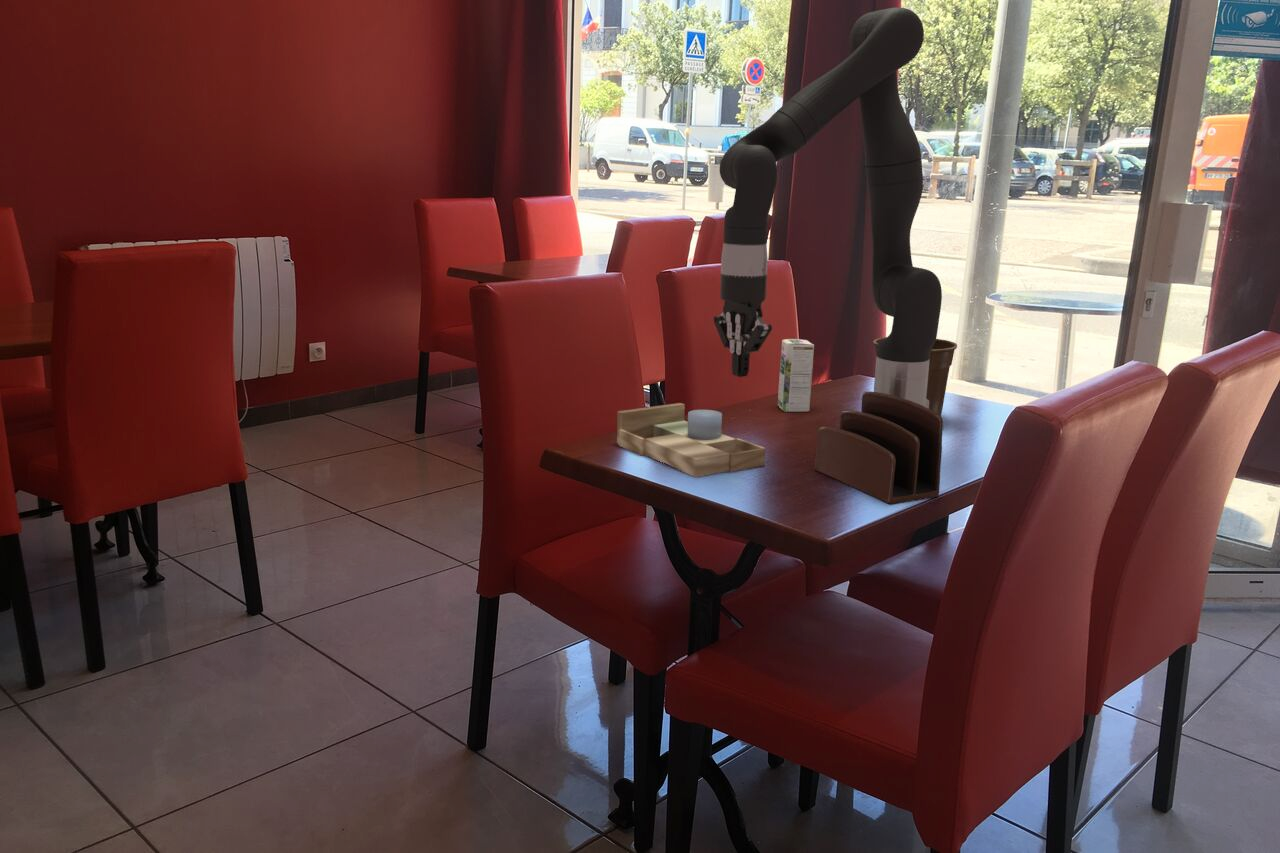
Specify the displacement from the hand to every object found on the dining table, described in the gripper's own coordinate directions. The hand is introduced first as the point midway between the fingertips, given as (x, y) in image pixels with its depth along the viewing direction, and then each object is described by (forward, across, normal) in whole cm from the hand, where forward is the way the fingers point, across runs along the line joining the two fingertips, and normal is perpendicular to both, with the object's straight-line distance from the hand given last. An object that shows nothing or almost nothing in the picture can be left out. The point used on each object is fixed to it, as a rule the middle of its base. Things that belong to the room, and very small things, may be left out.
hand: (739, 375), depth 173 cm
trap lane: (+16, +10, +3) cm, 19 cm away
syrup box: (+16, +27, -37) cm, 48 cm away
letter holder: (+16, -19, -14) cm, 28 cm away
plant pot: (+16, +8, -51) cm, 54 cm away
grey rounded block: (+13, +10, 0) cm, 16 cm away
